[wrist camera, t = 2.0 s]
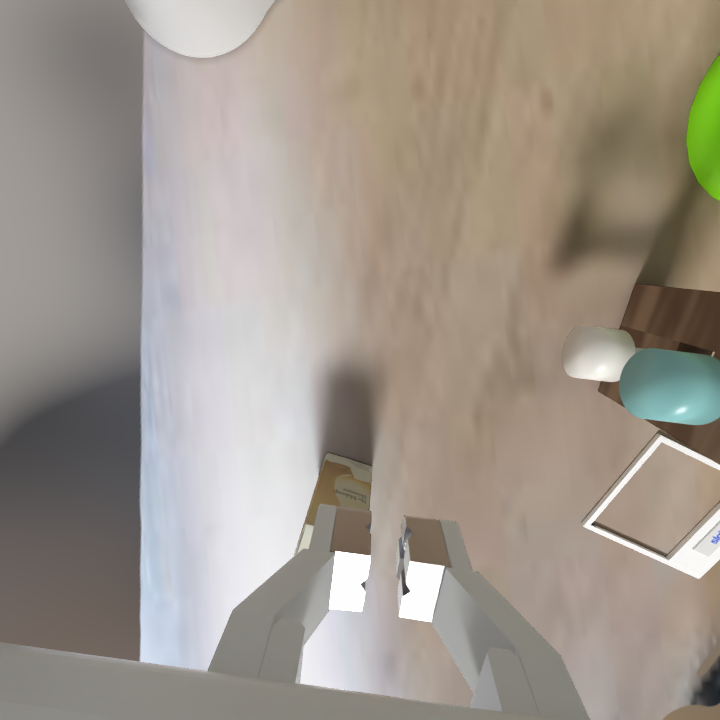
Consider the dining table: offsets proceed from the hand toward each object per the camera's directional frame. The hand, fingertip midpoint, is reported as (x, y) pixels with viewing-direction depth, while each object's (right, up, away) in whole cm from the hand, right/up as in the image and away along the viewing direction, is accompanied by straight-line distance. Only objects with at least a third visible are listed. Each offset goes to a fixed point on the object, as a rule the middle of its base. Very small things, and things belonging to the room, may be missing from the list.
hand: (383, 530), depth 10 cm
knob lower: (+24, +5, +20) cm, 32 cm away
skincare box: (-3, -9, +34) cm, 35 cm away
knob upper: (+23, +3, +13) cm, 27 cm away
